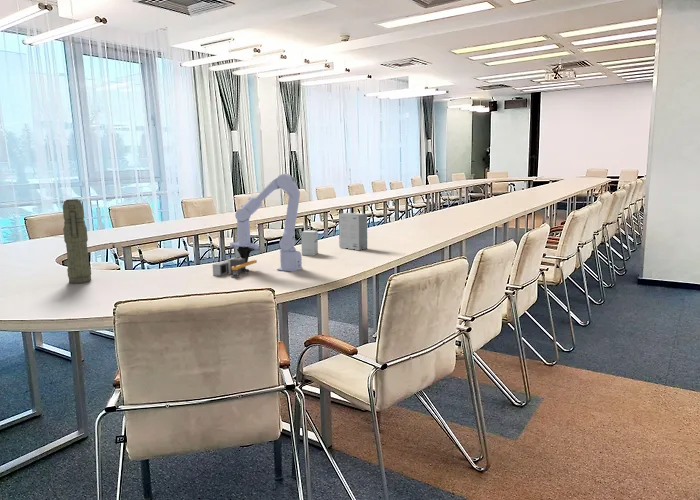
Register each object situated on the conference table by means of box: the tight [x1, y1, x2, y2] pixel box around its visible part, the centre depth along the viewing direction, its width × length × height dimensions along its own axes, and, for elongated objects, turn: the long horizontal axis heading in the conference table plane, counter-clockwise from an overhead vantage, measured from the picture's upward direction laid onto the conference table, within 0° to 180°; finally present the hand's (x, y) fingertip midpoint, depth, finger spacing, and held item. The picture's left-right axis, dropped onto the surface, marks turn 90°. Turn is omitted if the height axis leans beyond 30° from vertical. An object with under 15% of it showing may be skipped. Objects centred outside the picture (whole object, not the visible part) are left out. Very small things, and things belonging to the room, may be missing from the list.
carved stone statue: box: [62, 198, 92, 285], centre depth 223 cm, size 9×12×35 cm
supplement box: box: [300, 230, 319, 256], centre depth 283 cm, size 7×7×13 cm
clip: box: [232, 259, 258, 270], centre depth 237 cm, size 3×18×2 cm, turn 157°
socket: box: [212, 259, 229, 277], centre depth 241 cm, size 4×16×5 cm, turn 157°
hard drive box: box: [338, 212, 368, 251], centre depth 299 cm, size 16×8×20 cm, turn 49°
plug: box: [227, 257, 250, 275], centre depth 239 cm, size 9×5×6 cm, turn 67°
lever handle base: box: [230, 270, 240, 279], centre depth 231 cm, size 4×4×3 cm
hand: (245, 262), depth 247 cm, fingers closed
